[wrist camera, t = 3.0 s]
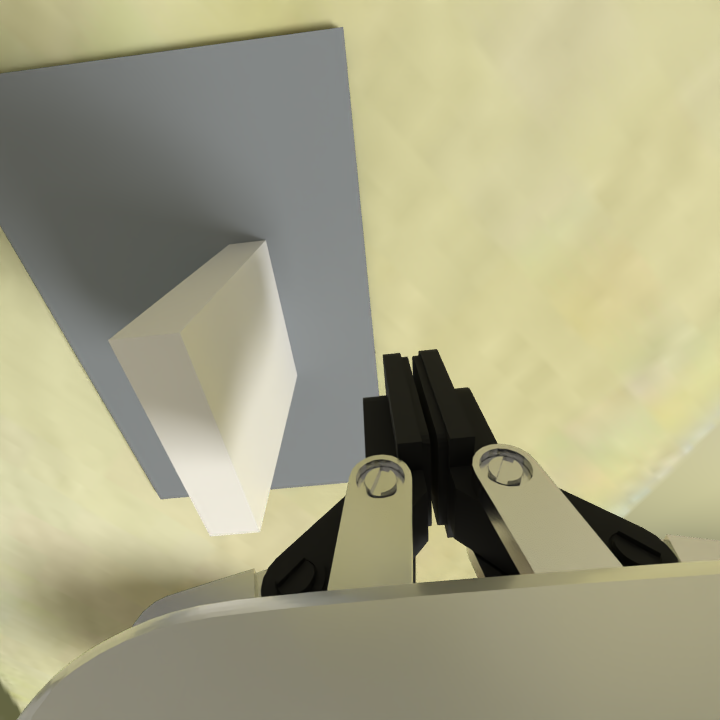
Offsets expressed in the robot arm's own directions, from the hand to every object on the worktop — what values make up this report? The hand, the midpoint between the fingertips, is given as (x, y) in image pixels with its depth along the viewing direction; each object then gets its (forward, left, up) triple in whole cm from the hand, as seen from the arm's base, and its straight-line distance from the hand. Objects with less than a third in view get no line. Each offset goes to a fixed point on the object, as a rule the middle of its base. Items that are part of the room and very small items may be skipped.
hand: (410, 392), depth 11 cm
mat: (+1, -8, -7) cm, 11 cm away
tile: (0, -6, -7) cm, 9 cm away
